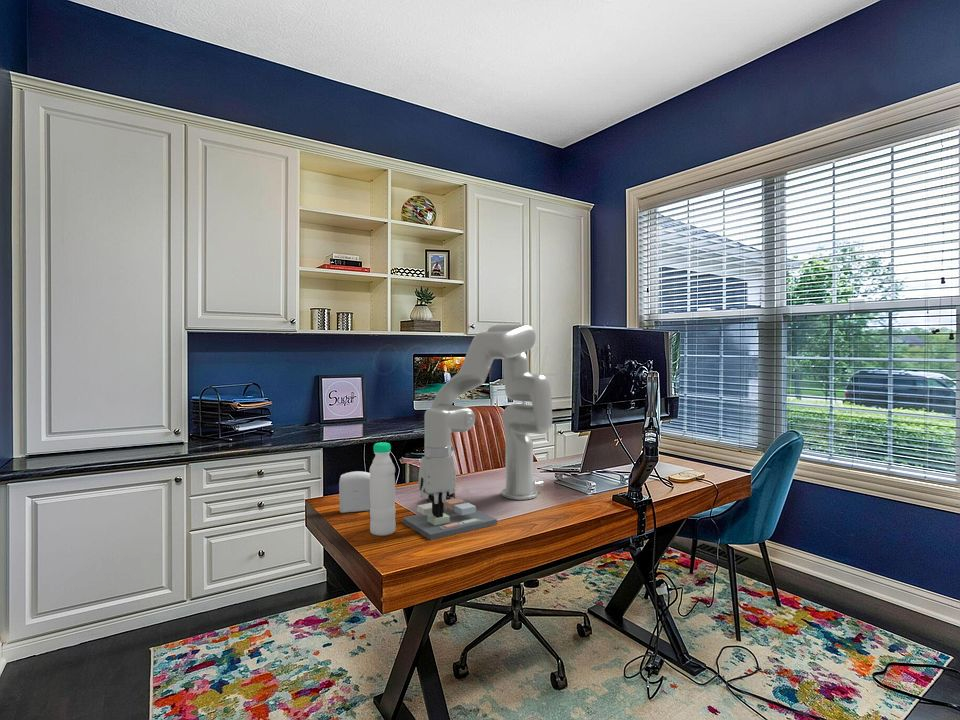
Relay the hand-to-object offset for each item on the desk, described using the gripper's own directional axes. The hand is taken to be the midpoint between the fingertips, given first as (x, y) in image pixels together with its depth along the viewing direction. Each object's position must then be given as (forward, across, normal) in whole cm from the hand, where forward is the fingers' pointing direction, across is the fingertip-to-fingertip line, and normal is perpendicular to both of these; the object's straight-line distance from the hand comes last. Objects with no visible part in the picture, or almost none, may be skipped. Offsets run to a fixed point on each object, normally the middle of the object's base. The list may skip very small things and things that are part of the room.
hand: (437, 515), depth 152 cm
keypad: (+4, -5, -2) cm, 6 cm away
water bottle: (+4, +14, -6) cm, 16 cm away
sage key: (+2, 0, 0) cm, 2 cm away
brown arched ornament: (+4, -15, -24) cm, 28 cm away
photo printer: (+4, +13, -29) cm, 32 cm away
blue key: (+1, -9, 0) cm, 9 cm away
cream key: (+1, 0, -6) cm, 6 cm away
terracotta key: (+1, -9, -6) cm, 11 cm away
